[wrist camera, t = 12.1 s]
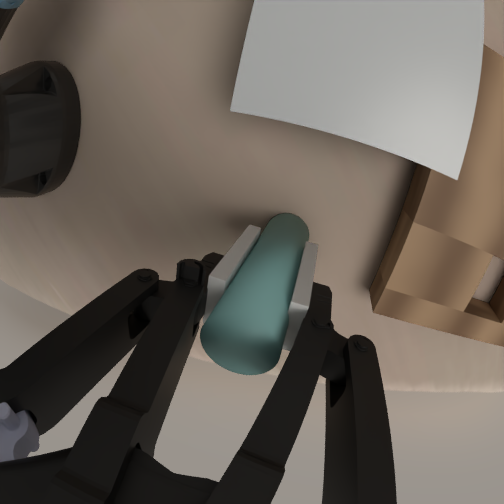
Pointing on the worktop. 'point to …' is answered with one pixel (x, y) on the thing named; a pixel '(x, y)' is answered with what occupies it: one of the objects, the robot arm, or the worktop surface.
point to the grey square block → (368, 72)
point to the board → (452, 232)
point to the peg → (258, 301)
